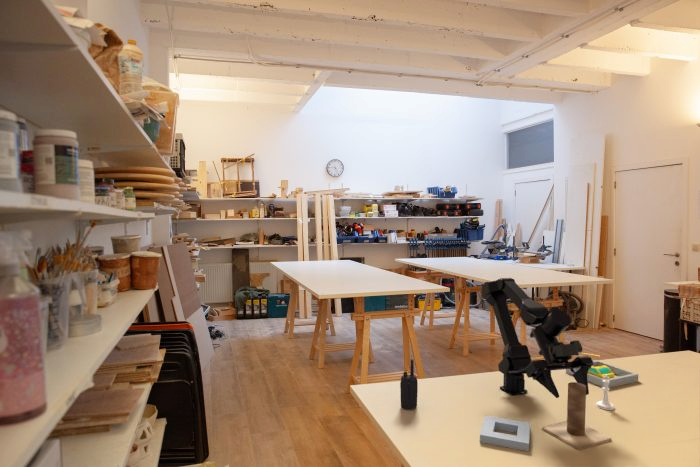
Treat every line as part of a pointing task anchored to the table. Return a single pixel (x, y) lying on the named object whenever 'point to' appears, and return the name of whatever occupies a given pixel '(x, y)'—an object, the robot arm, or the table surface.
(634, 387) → the table surface
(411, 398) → the two-way radio
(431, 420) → the table surface
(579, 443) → the wooden coaster
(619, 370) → the tray
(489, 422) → the holder block
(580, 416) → the walnut dowel
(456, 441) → the table surface
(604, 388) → the chess piece
